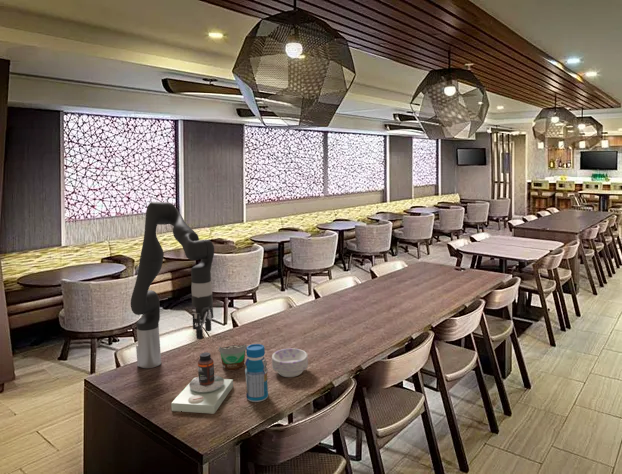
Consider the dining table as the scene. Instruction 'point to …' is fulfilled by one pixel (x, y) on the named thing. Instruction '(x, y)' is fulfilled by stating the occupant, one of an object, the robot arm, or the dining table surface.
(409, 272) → the dining table surface
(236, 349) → the food container
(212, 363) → the supplement bottle
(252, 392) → the beverage bottle
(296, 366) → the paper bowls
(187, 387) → the scale base
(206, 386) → the scale pan
